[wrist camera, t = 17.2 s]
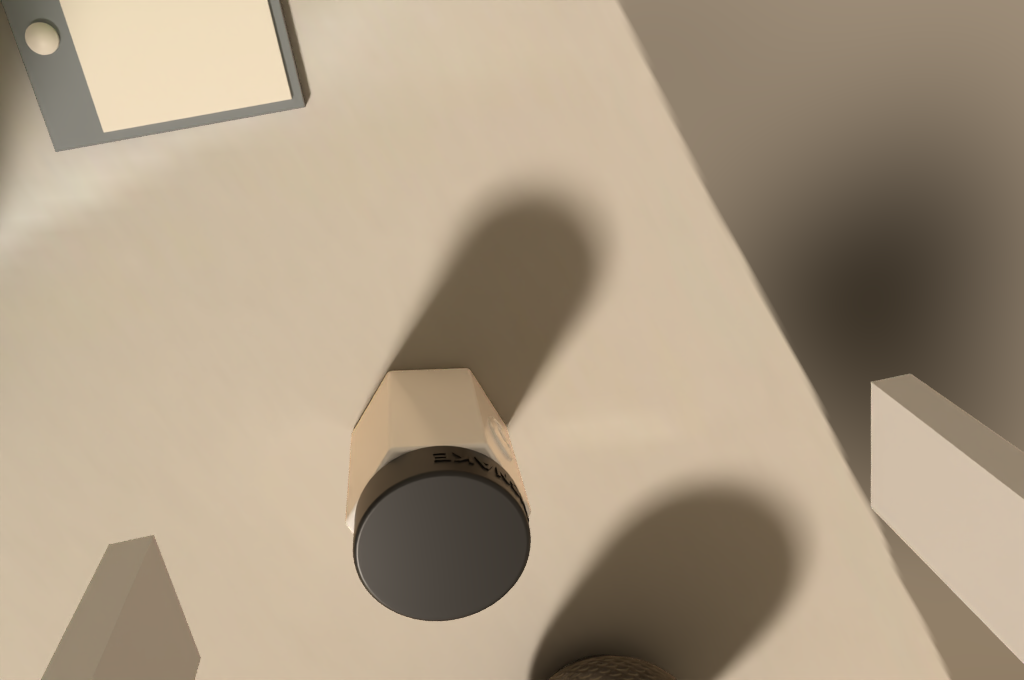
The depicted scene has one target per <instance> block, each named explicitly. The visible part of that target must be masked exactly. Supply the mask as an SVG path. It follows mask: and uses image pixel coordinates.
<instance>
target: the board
mask: <svg viewBox="0 0 1024 680" xmlns="http://www.w3.org/2000/svg"><path fill="white" fill-rule="evenodd" d="M1 2H2V4H3V7H4V10H5V13H6V15H7V18H8V21H9V24H10V27H11V29H12V32H13V35H14V38H15V40H16V43H17V46H18V49H19V52H20V54H21V57H22V60H23V63H24V65H25V68H26V71H27V74H28V77H29V79H30V82H31V85H32V88H33V90H34V93H35V96H36V99H37V101H38V104H39V107H40V110H41V113H42V115H43V118H44V121H45V124H46V126H47V129H48V132H49V135H50V138H51V140H52V143H53V146H54V149H55V151H56V152H58V151H64V150H70V149H75V148H81V147H86V146H92V145H97V144H103V143H108V142H114V141H120V140H125V139H131V138H136V137H142V136H147V135H153V134H159V133H164V132H170V131H175V130H181V129H186V128H192V127H198V126H203V125H209V124H214V123H220V122H225V121H231V120H236V119H242V118H248V117H253V116H259V115H264V114H270V113H275V112H281V111H287V110H292V109H298V108H303V107H305V106H306V104H305V100H304V96H303V92H302V88H301V84H300V80H299V76H298V72H297V67H296V63H295V59H294V55H293V51H292V47H291V43H290V39H289V35H288V31H287V27H286V22H285V18H284V14H283V10H282V6H281V2H280V0H1Z"/></svg>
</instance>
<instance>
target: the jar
mask: <svg viewBox="0 0 1024 680" xmlns="http://www.w3.org/2000/svg"><path fill="white" fill-rule="evenodd" d="M530 513H531V508H530V505H529V502H528V498H527V495H526V491H525V488H524V485H523V481H522V478H521V475H520V471H519V468H518V464H517V461H516V458H515V454H514V451H513V448H512V444H511V441H510V437H509V434H508V431H507V427H506V425H505V424H504V422H503V421H502V419H501V418H500V416H499V414H498V413H497V411H496V410H495V408H494V407H493V405H492V403H491V402H490V400H489V399H488V397H487V396H486V394H485V392H484V391H483V389H482V388H481V386H480V385H479V383H478V381H477V380H476V378H475V377H474V375H473V374H472V372H471V370H470V369H468V368H452V369H425V370H397V371H389V372H388V373H387V374H386V376H385V378H384V379H383V381H382V383H381V385H380V386H379V388H378V390H377V391H376V393H375V395H374V396H373V398H372V400H371V402H370V403H369V405H368V407H367V408H366V410H365V412H364V413H363V415H362V417H361V419H360V420H359V422H358V424H357V425H356V427H355V429H354V430H353V432H352V434H351V447H350V462H349V476H348V490H347V504H346V518H345V523H346V525H347V527H348V528H349V529H350V531H351V532H352V533H353V534H354V538H353V558H354V563H355V567H356V571H357V573H358V576H359V578H360V580H361V582H362V584H363V585H364V587H365V588H366V589H367V591H368V592H369V593H370V594H371V595H372V596H373V597H374V598H375V599H376V600H377V601H378V602H379V603H381V604H382V605H383V606H385V607H387V608H388V609H390V610H392V611H394V612H396V613H398V614H401V615H403V616H406V617H410V618H413V619H418V620H425V621H447V620H454V619H459V618H463V617H467V616H470V615H473V614H475V613H478V612H480V611H482V610H484V609H486V608H488V607H489V606H491V605H493V604H494V603H495V602H497V601H498V600H500V599H501V598H502V597H503V596H504V595H505V594H506V593H507V592H508V591H509V590H510V589H511V588H512V587H513V586H514V585H515V583H516V582H517V581H518V579H519V577H520V576H521V574H522V572H523V570H524V568H525V566H526V563H527V560H528V557H529V552H530V543H531V536H530V528H529V518H528V517H529V515H530Z"/></svg>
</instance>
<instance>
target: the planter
mask: <svg viewBox="0 0 1024 680" xmlns="http://www.w3.org/2000/svg"><path fill="white" fill-rule="evenodd" d="M548 680H677V679H676V678H674V677H673V676H672V675H671V674H669V673H668V672H666V671H665V670H663V669H661V668H660V667H658V666H656V665H653V664H651V663H648V662H646V661H643V660H640V659H636V658H631V657H623V656H609V655H598V656H591V657H586V658H583V659H579V660H577V661H575V662H572V663H570V664H568V665H567V666H565V667H563V668H562V669H560V670H559V671H558V672H557V673H555V674H554V675H553V676H552V677H551V678H549V679H548Z"/></svg>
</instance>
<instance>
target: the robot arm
mask: <svg viewBox="0 0 1024 680" xmlns="http://www.w3.org/2000/svg"><path fill="white" fill-rule="evenodd" d="M871 508H872V509H873V510H874V511H875V512H876V513H877V514H878V515H879V516H880V517H881V518H882V519H883V520H884V521H885V522H886V523H887V524H888V525H889V526H890V527H891V528H892V529H893V530H894V531H895V532H896V533H897V534H898V535H899V537H901V538H902V540H903V541H904V542H905V543H907V545H908V546H909V547H910V548H911V549H912V550H913V551H914V552H915V553H916V554H917V555H918V556H919V557H920V558H921V559H922V560H923V561H924V562H925V563H926V564H927V565H928V566H929V567H930V568H931V569H932V570H933V571H934V572H935V573H936V574H937V575H938V576H939V577H940V578H941V580H942V581H944V583H946V585H947V586H948V587H949V588H950V589H951V590H952V591H953V592H954V593H955V594H956V595H957V596H958V597H959V598H960V599H961V600H962V601H963V602H964V603H965V604H966V605H967V606H968V607H969V608H970V609H971V610H972V611H973V612H974V613H975V614H976V615H977V616H978V617H979V618H980V619H981V621H983V623H984V624H985V625H986V626H987V627H988V628H989V629H991V631H992V632H993V633H994V634H995V635H996V636H997V637H998V638H999V639H1000V640H1001V641H1002V642H1003V643H1004V644H1005V645H1006V646H1007V647H1008V648H1009V649H1010V650H1011V651H1012V652H1013V653H1014V654H1015V655H1016V656H1017V657H1018V658H1019V659H1020V660H1021V661H1022V663H1023V664H1024V452H1022V451H1021V450H1020V449H1018V448H1017V447H1015V446H1014V445H1012V444H1011V443H1009V442H1008V441H1007V440H1005V439H1004V438H1002V437H1001V436H999V435H998V434H996V433H995V432H994V431H992V430H991V429H989V428H988V427H986V426H985V425H984V424H982V423H981V422H979V421H978V420H976V419H975V418H973V417H972V416H971V415H969V414H968V413H966V412H965V411H963V410H962V409H960V408H959V407H958V406H956V405H955V404H953V403H952V402H950V401H949V400H947V399H946V398H945V397H943V396H942V395H940V394H939V393H937V392H936V391H935V390H933V389H932V388H930V387H929V386H927V385H926V384H925V383H923V382H922V381H920V380H919V379H917V378H916V377H915V376H913V375H912V374H906V375H902V376H897V377H892V378H888V379H883V380H879V381H873V382H871ZM200 658H201V657H200V655H199V652H198V649H197V647H196V644H195V642H194V639H193V636H192V634H191V631H190V629H189V626H188V623H187V621H186V618H185V615H184V613H183V610H182V608H181V605H180V602H179V600H178V597H177V595H176V592H175V589H174V587H173V584H172V581H171V579H170V576H169V574H168V571H167V568H166V566H165V563H164V561H163V558H162V555H161V553H160V550H159V547H158V545H157V542H156V540H155V537H154V535H152V536H147V537H142V538H138V539H133V540H128V541H124V542H119V543H114V544H109V546H108V548H107V550H106V552H105V554H104V556H103V558H102V560H101V562H100V564H99V566H98V568H97V570H96V572H95V574H94V575H93V577H92V579H91V581H90V583H89V585H88V587H87V589H86V591H85V593H84V595H83V597H82V599H81V601H80V603H79V605H78V607H77V609H76V611H75V613H74V615H73V617H72V619H71V621H70V623H69V625H68V627H67V629H66V631H65V633H64V635H63V637H62V639H61V641H60V643H59V645H58V647H57V649H56V651H55V653H54V655H53V657H52V659H51V661H50V663H49V665H48V667H47V669H46V671H45V673H44V675H43V677H42V679H41V680H195V676H196V673H197V669H198V666H199V662H200Z"/></svg>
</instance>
